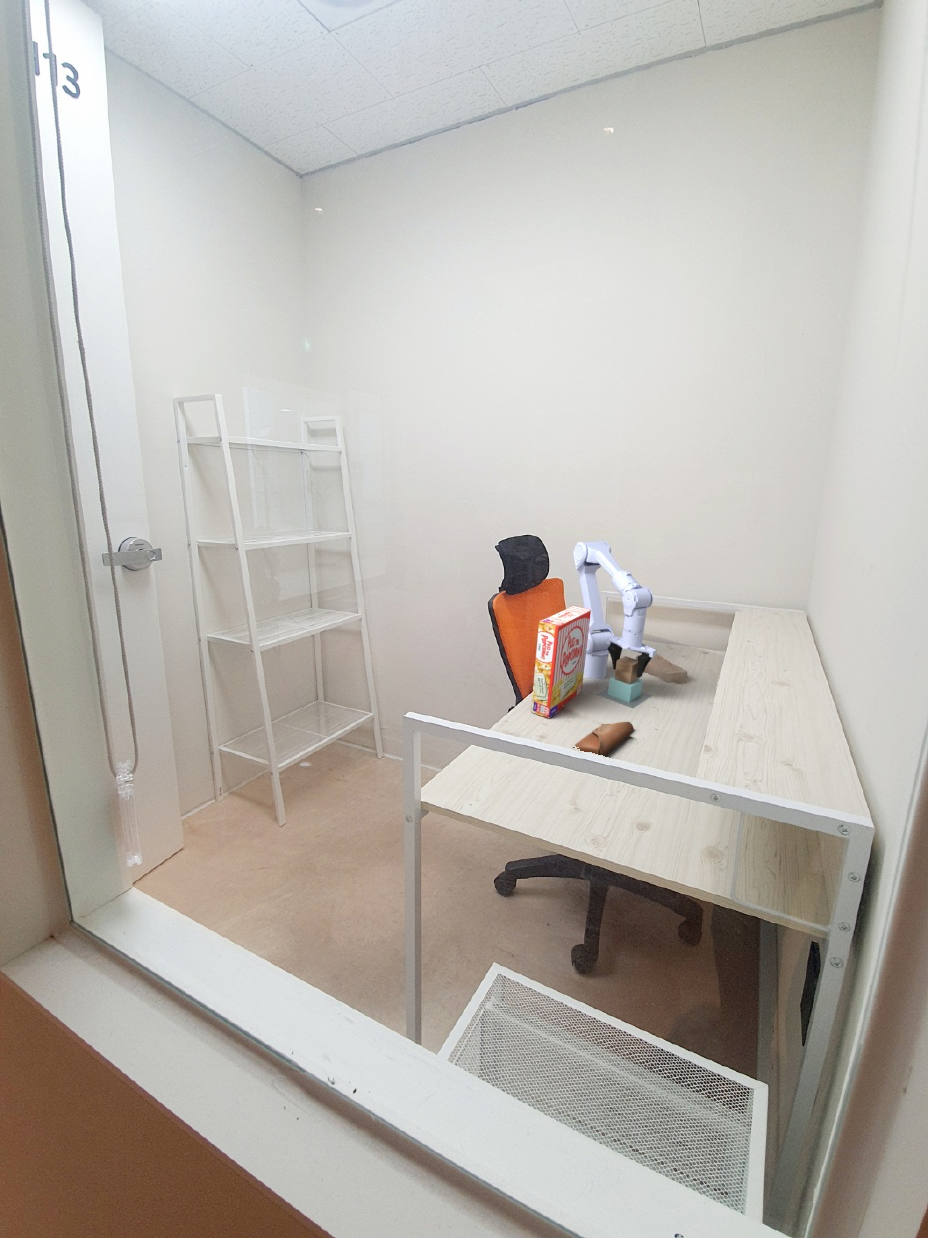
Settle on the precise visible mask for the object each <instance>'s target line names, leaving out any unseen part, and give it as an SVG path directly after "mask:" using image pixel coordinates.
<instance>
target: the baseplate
mask: <svg viewBox="0 0 928 1238" xmlns="http://www.w3.org/2000/svg"><path fill="white" fill-rule="evenodd" d="M608 689H609V686H608V687H605V688H603V689H602V690H601V691H599V692H597V693H596V695H597V696H600V697H603V698H605V699H607V700H610V701H613V702H615V703H617V704H621V705H622V706H626V707H629V708H631V709H634V708H636V707H638V706H639V705H641V704H642V703H643V702H645V701H647V700H648V699H650V698H651V697H653V694H650V693H647V692H644V691H641V695H640V696H639V697H637V698H635V699H634V700H632V701H631V702H627V701H624V700H621V699H619V698H616V697H614V696H611V695H608Z"/></svg>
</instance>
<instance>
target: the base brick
mask: <svg viewBox="0 0 928 1238" xmlns="http://www.w3.org/2000/svg"><path fill="white" fill-rule="evenodd" d="M643 682H644V679H641V678H638V680H637V681H635V682H634V683H632V684H630V685H629V684H627V683H624V682H621V681H618V680H615V675H614V676H613V677H610V678H609V682H608V687H609V689H608V695H611V696H614V697H616V698H619V699H621V700H624V701H627V702H631V701H632V700H634V699H635V698H637V697H639V696H640V695H641V692H642V690H643Z"/></svg>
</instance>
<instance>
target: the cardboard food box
mask: <svg viewBox="0 0 928 1238" xmlns="http://www.w3.org/2000/svg"><path fill="white" fill-rule="evenodd" d="M590 614H591V610H590V609H586V608H584V607H580V606H576V605H572V606H570V607H568V608H565V609H564V610H562V611H560V612H557V613H555V614H553V615H551V616H548V617H547V618H544V619H542V620H539V621H538V630H537V631H538V632H537V642H536V653H535V664H534V665H535V666H534V674H533V675H534V676H533V686H532V696H531V697H532V698H531V705H530V712H531V713H533V714H536V715H539V716H541V717H543V716H545V717H544V718H546V717H550V718H552V717H553V716H554V715H556V714H557V713H558V712H559V711H561V710H563V708H564V706H565V705H566V704H568V703H569V702H570V701H572V700H573V699H574V698H575V697H576V696H578V695H579V694H581V692H582V690H583V684H584V666H585V658H586V649H587V640H588V632H589V623H590Z"/></svg>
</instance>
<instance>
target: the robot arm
mask: <svg viewBox="0 0 928 1238" xmlns="http://www.w3.org/2000/svg"><path fill="white" fill-rule="evenodd" d="M572 554H573V560H574V565H575V570H576V571H577V574H578V575H577V576H578V580H579V587H580V593H581V597H582V603H583V608H586V609H590V610H591V614H590V623H589V632H588V640H587V649H586V658H585V666H584V675H583V677H586V678H587V679H592V680H603V679H606V676H607V671H608V670H607V669H608V660H609V655H610V658H611V663H612V668H613V669H612V670H614V671H616V663H617V660H619V659H621V655H622V652H623V649H624V650H625V651H626V650H627V651H628V650H630V651H633V652H636V653H638V654H639V656H638V657H637V658H638V669H637V678H639V679H641V677H643V675H644V673H645V672H644V670H645V668H646V666H647V664H648V663H649V661H650V660H651V659H652V658H653V657H655V656H656V653H657V649H655V648H652V647H650V646H648V645H646V644H644V643H643V638H644V632H645V626H646V625H645V624H646V619H647V618H646V617H647V610H648V608H649V607H651V606H652V604H653V602H654V595H653V593H652V590H651V589H650V588H649V587H647V586H643V585H640V583H639V582H638V581H637V580H636V579H635V577H633V575H632V573H631V572H630V570H625V569H622V568H621V566H620V565H619V564H618V562H617V560H616V559H615V558H614V556H613V554H612V547H611V546H610V545H609V543H608V542H607V541H605V540H601V541H579V542H577V544H575V547H574V549H573V551H572ZM601 567H602V568H603V569H604V570H605V571H606V573H607V574H609V576H610V577H612V579H611V583H612V585H613V586H614V588H615V589H616V590H617V591H618V593H619V594H620V595H621V597H622V598H621V599H622V605H623V614H624V619H623V625H622V633H621V638H620V637H616V636H615V633H614V632H613V628H612V625H610V624H609V623H608V622H606V621H605V619H604V614H603V609H602V603H601V598H600V593H599V592H600V591H599V587H598V582H597V577H596V572H597V570H599V569H601Z"/></svg>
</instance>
